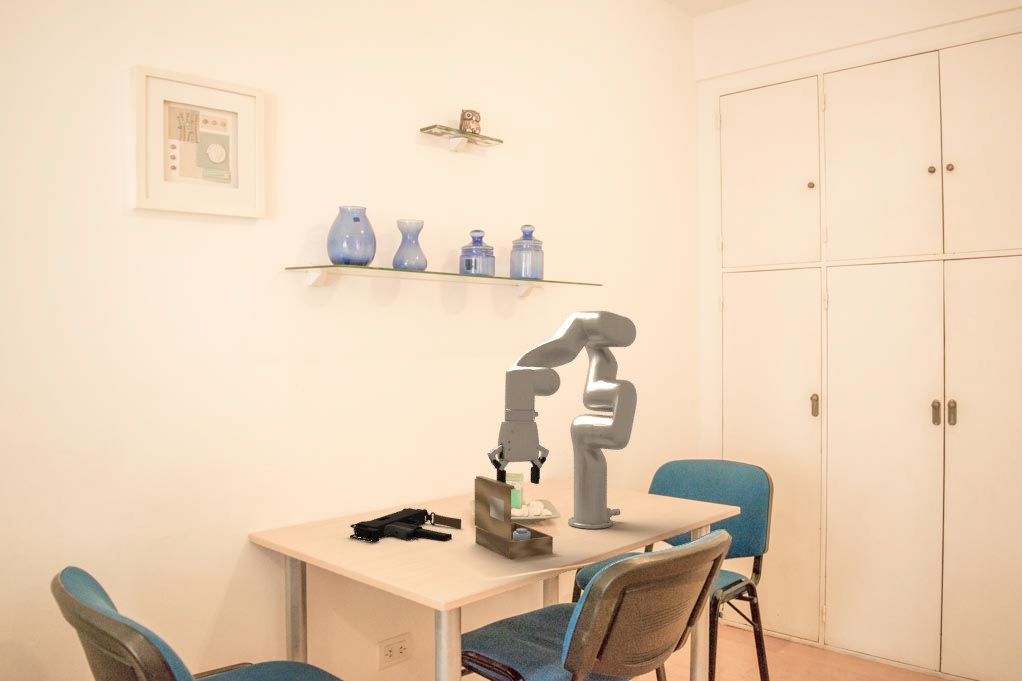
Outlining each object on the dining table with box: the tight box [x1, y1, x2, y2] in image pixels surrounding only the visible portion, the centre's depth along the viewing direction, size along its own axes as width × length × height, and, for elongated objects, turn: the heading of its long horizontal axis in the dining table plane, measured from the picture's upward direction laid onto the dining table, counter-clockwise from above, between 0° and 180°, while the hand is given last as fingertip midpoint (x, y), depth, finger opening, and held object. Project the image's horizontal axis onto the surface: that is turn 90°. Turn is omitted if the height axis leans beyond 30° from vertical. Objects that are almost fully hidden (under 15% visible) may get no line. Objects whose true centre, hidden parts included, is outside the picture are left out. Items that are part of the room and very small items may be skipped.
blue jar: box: [513, 528, 531, 541], centre depth 199 cm, size 4×4×4 cm
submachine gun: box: [349, 507, 462, 543], centre depth 215 cm, size 5×29×25 cm
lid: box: [474, 475, 515, 541], centre depth 195 cm, size 13×18×2 cm
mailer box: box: [475, 521, 554, 560], centre depth 197 cm, size 12×18×4 cm, turn 30°
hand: (518, 484), depth 198 cm, fingers open, 9 cm apart
